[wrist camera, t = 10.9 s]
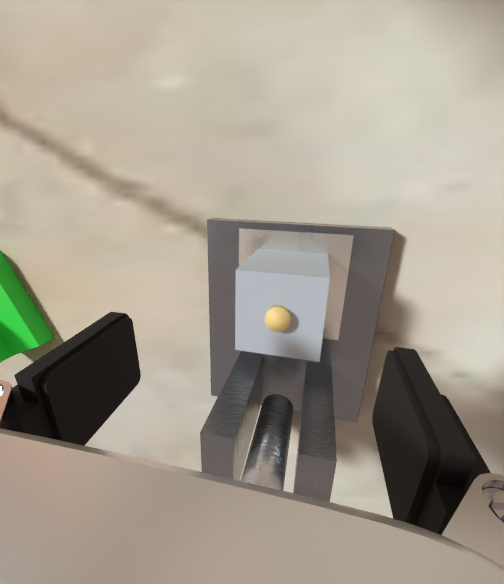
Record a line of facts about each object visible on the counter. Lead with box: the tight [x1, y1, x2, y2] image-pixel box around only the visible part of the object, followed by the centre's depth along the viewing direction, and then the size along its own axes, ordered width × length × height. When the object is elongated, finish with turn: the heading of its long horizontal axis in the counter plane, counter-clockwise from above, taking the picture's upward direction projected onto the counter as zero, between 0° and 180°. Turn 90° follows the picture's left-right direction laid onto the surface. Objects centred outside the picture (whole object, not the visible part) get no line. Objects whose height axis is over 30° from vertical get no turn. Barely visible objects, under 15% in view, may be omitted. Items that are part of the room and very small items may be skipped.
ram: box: [241, 394, 293, 491], centre depth 17 cm, size 5×5×12 cm
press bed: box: [200, 218, 395, 502], centre depth 19 cm, size 16×13×10 cm
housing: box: [235, 249, 330, 362], centre depth 19 cm, size 5×5×6 cm
